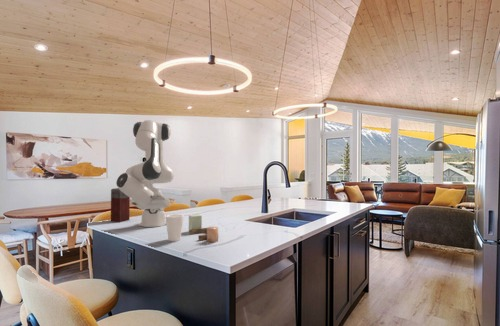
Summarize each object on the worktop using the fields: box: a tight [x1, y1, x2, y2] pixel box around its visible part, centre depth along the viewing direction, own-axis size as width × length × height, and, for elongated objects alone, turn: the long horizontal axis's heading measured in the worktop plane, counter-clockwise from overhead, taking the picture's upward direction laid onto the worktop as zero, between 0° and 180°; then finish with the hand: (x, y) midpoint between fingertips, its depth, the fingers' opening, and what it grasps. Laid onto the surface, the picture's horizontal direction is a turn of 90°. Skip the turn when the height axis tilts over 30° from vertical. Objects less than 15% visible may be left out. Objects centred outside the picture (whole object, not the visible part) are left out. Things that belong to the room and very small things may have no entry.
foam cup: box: [165, 213, 185, 242], centre depth 151 cm, size 10×9×13 cm
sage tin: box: [188, 214, 203, 231], centre depth 170 cm, size 6×6×10 cm
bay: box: [188, 227, 207, 241], centre depth 160 cm, size 11×16×2 cm
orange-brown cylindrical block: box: [206, 226, 219, 243], centre depth 149 cm, size 6×6×7 cm
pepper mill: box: [110, 187, 131, 223], centre depth 203 cm, size 9×11×28 cm
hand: (162, 210), depth 151 cm, fingers closed
